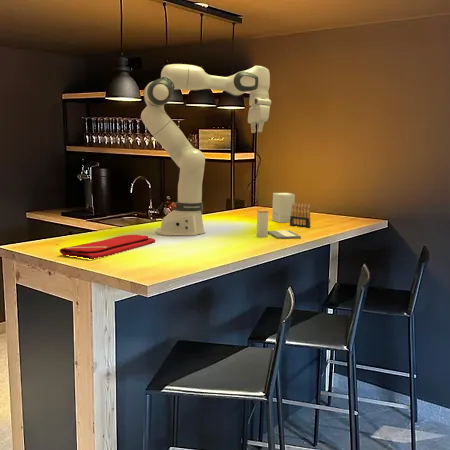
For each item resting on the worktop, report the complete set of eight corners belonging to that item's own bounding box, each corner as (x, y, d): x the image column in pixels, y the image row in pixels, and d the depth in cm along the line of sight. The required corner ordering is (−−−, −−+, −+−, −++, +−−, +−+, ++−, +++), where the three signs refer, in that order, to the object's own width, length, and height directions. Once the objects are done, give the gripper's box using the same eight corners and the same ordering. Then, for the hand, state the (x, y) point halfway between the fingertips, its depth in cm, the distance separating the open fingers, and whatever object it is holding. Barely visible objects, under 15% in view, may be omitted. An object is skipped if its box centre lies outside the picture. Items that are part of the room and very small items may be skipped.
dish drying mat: (156, 243, 240) (156, 234, 239) (91, 262, 204) (91, 252, 203) (125, 239, 247) (125, 231, 246) (58, 257, 211) (58, 247, 210)
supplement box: (294, 222, 302) (295, 194, 300) (279, 223, 299) (280, 194, 296) (286, 219, 310) (287, 192, 308) (271, 220, 307) (272, 192, 305)
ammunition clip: (289, 225, 290) (290, 202, 288) (291, 225, 292) (292, 202, 290) (308, 228, 284) (309, 204, 282) (310, 227, 286) (311, 203, 284)
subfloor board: (277, 238, 253) (277, 236, 253) (267, 233, 268) (267, 230, 267) (300, 238, 256) (300, 236, 255) (289, 232, 270) (289, 230, 270)
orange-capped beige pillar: (258, 237, 256) (259, 210, 255) (256, 235, 260) (257, 209, 258) (267, 237, 257) (268, 210, 255) (264, 235, 261) (265, 209, 259)
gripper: (245, 103, 273) (243, 132, 274) (259, 99, 253) (257, 130, 255) (258, 104, 275) (256, 133, 276) (272, 100, 255) (270, 132, 256)
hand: (256, 132), depth 265 cm, fingers open, 8 cm apart
